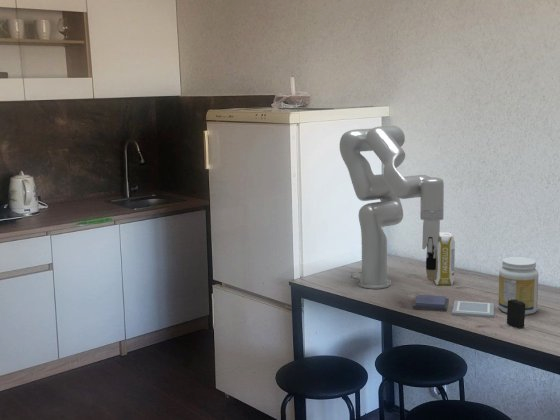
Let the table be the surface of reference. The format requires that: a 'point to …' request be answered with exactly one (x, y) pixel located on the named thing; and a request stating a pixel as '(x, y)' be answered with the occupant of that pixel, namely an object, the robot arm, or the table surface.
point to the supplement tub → (518, 283)
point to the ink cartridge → (516, 313)
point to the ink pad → (431, 302)
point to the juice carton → (445, 259)
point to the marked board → (473, 309)
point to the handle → (432, 273)
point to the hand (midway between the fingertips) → (431, 267)
